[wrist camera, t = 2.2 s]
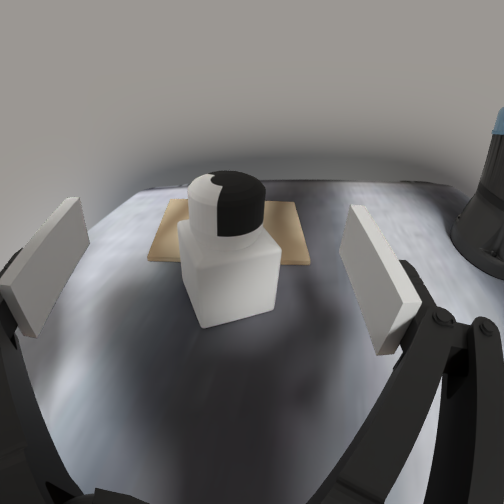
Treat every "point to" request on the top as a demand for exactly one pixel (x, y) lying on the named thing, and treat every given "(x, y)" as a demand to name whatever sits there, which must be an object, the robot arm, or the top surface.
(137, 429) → the top surface
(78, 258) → the robot arm
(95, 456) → the top surface
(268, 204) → the cork mat
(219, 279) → the medicine bottle
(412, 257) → the top surface
